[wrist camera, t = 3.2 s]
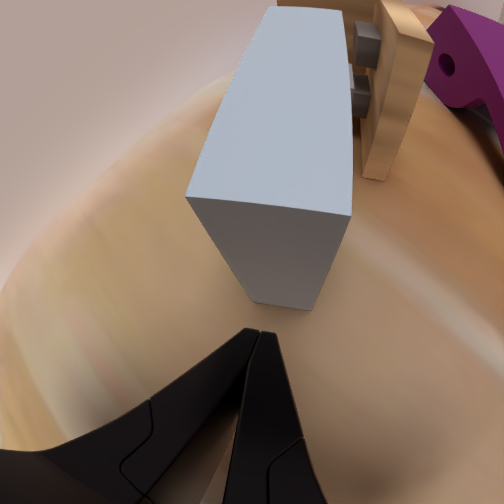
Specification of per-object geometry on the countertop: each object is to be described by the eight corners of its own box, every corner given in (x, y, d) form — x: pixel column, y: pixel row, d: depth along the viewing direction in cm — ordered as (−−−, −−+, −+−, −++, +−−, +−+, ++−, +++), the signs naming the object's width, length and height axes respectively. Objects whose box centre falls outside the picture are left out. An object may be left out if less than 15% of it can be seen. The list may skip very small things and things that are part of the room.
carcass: (384, 181, 16) (434, 43, 7) (271, 165, 17) (250, 17, 8) (375, 97, 19) (394, -10, 10) (288, 86, 20) (279, -24, 11)
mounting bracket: (518, 209, 20) (467, 57, 19) (573, 206, 11) (507, 26, 10) (470, 226, 20) (409, 49, 19) (536, 227, 12) (448, 4, 10)
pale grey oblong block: (320, 312, 14) (378, 220, 4) (229, 297, 15) (133, 192, 5) (336, 155, 17) (353, 12, 8) (264, 147, 18) (241, 7, 9)
